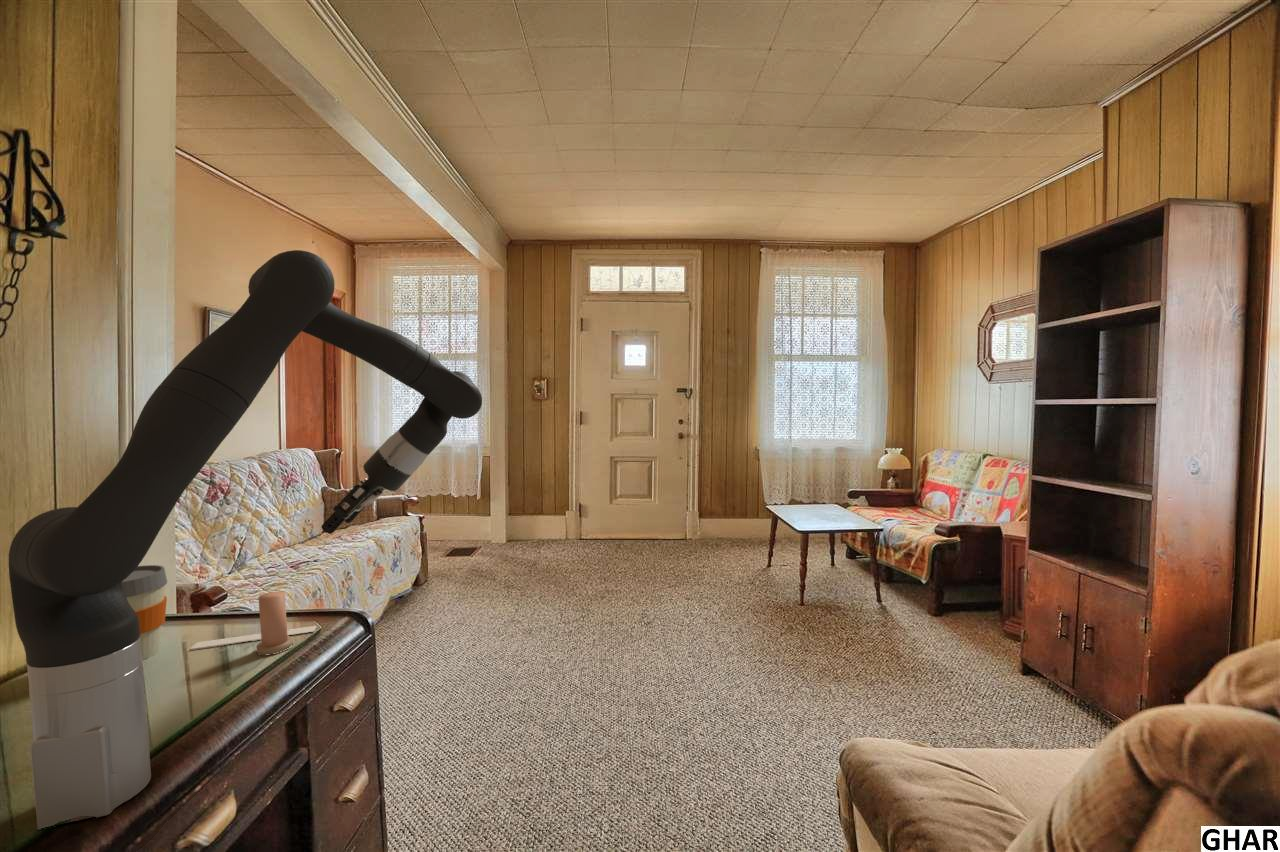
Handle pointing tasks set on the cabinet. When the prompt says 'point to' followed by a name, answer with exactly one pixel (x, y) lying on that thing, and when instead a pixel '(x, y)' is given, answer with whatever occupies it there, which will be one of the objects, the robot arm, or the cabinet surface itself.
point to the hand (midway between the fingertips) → (335, 525)
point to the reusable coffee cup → (148, 604)
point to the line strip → (245, 638)
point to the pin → (273, 624)
